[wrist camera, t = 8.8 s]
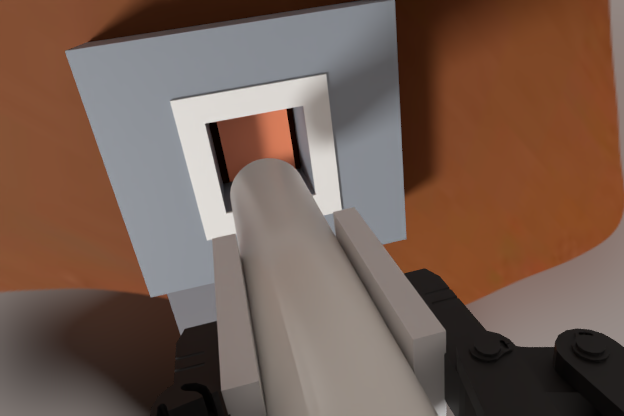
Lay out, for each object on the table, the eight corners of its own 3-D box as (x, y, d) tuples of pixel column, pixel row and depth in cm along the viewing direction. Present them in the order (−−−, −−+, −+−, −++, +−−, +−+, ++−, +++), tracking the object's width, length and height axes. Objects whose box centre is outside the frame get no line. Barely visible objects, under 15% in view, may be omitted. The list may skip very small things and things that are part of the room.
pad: (181, 333, 34) (181, 337, 34) (159, 265, 32) (159, 269, 31) (261, 314, 35) (262, 318, 35) (246, 246, 32) (247, 249, 32)
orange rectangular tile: (229, 175, 30) (230, 181, 29) (214, 111, 28) (215, 116, 27) (292, 162, 31) (295, 168, 29) (282, 99, 29) (285, 103, 28)
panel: (157, 258, 31) (150, 299, 27) (87, 42, 25) (63, 51, 21) (382, 210, 33) (407, 240, 29) (366, -1, 27) (396, -1, 23)
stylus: (237, 235, 22) (351, 914, 6) (221, 165, 20) (314, 826, 4) (310, 219, 22) (604, 801, 6) (300, 150, 21) (656, 685, 5)
